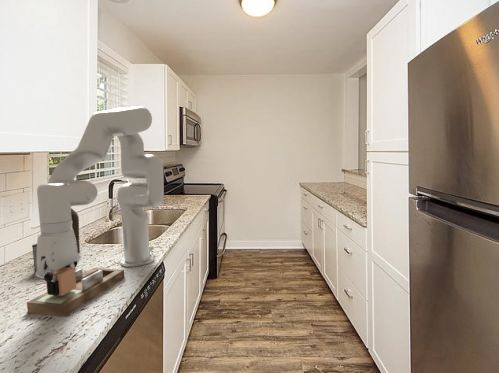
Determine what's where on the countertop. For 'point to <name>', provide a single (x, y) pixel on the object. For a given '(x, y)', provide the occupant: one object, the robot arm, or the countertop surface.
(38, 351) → the countertop surface
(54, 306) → the track
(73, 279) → the block
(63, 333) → the countertop surface
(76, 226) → the olive oil
